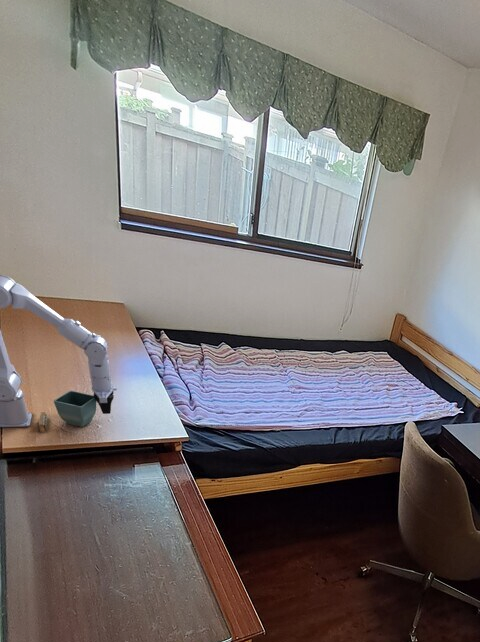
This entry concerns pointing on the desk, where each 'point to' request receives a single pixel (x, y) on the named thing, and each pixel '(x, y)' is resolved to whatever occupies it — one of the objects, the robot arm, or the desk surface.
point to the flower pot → (76, 408)
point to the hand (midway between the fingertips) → (106, 412)
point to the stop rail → (43, 422)
